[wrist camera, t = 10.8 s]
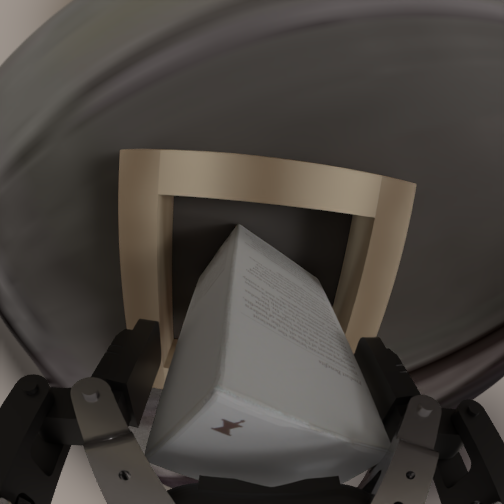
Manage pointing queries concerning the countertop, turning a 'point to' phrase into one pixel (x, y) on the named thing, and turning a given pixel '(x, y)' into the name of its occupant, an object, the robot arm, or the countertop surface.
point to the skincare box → (263, 378)
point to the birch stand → (261, 191)
